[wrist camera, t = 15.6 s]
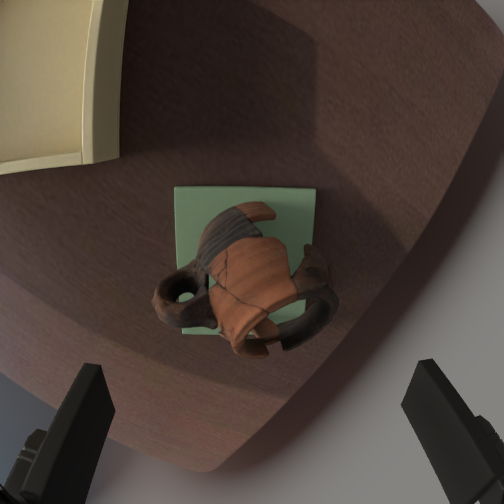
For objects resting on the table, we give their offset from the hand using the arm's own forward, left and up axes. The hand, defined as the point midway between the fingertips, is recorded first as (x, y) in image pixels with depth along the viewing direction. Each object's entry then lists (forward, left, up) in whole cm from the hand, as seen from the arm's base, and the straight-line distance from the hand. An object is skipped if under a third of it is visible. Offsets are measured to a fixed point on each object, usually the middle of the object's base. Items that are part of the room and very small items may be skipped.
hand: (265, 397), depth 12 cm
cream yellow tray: (+20, -17, -14) cm, 30 cm away
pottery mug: (0, 0, -13) cm, 13 cm away
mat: (0, 0, -14) cm, 14 cm away
